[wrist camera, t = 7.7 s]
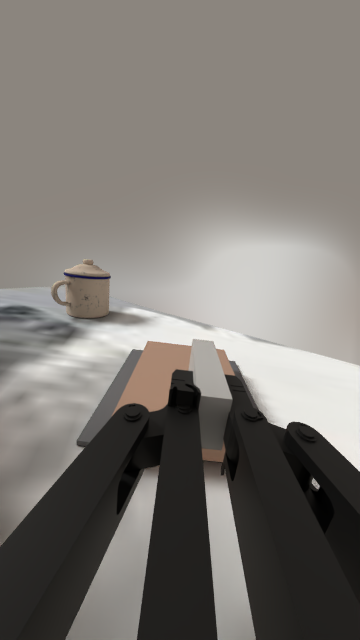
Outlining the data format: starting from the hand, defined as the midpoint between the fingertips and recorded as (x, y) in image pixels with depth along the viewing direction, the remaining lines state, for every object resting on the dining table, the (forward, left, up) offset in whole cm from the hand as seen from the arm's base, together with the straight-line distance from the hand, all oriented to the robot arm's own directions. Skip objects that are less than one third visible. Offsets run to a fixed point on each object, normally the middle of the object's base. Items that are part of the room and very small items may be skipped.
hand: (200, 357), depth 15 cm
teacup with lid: (-37, +2, -7) cm, 38 cm away
